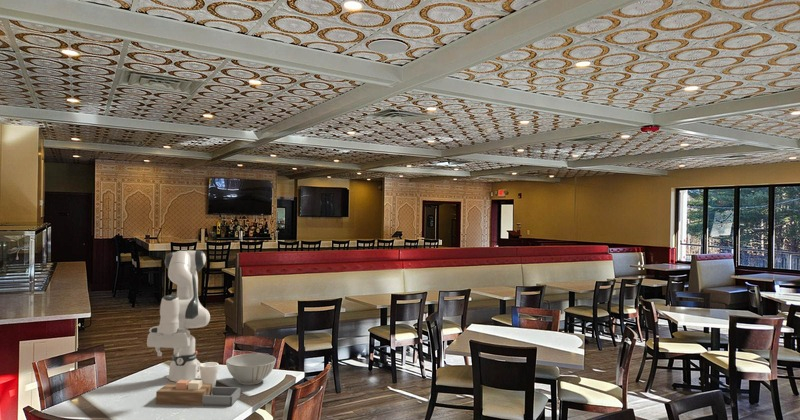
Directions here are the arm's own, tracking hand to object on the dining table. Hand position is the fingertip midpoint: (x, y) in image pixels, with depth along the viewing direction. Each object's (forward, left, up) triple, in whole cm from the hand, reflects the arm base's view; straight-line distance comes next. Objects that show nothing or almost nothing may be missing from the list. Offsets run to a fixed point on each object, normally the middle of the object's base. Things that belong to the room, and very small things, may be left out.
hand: (168, 356), depth 263 cm
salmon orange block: (0, +8, -15) cm, 17 cm away
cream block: (0, +14, -15) cm, 21 cm away
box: (0, +27, -21) cm, 35 cm away
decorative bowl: (-32, +33, -21) cm, 50 cm away
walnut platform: (0, +9, -21) cm, 23 cm away
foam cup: (-17, +15, -21) cm, 31 cm away
